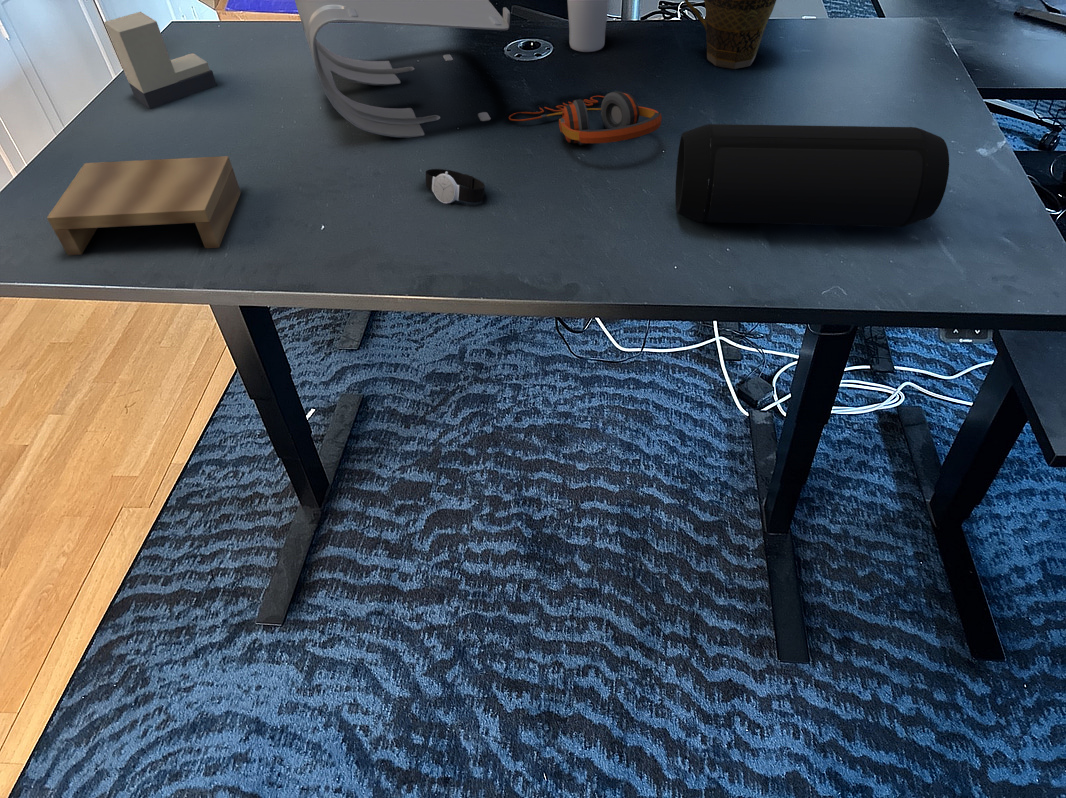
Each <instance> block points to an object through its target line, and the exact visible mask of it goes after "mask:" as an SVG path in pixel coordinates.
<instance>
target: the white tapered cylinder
mask: <svg viewBox="0 0 1066 798" xmlns="http://www.w3.org/2000/svg"><path fill="white" fill-rule="evenodd" d="M566 1H567V3H566V5H567V16H568V18H567V19H568V31H569V32H568V33H569V34H568V43H569V47H570V49H572V50H573V51H576V52H581V53H591V52H592V53H593V52H597V51H600V50H602V49H603V48H604V47H605V43H606V29H607V22H608V21H607V20H608V14H609V13H608V12H609V6H610V5H609V4H610V0H566Z"/></svg>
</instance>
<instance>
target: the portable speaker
mask: <svg viewBox="0 0 1066 798" xmlns="http://www.w3.org/2000/svg"><path fill="white" fill-rule="evenodd" d="M678 145H679V146H678V151H677V158H676V159H677V160H676V173H675V190H674V191H675V195H674V196H675V210H676V211H675V212H676V213H677V214H679V215H681V216H684V217H686V218H688V219H691V220H693V221H696V222H699V223H717V224H718V223H720V224H721V223H727V224H779V225H781V224H782V225H816V226H817V225H819V226H846V227H847V226H848V227H883V228H885V227H886V228H902V227H906V226H910V225H911V224H915V223H918V222H921V221H924V220H927V219H929V218H931V217H932V216H934V214H935V213H936V212H937V210H938V209H939V207H940V205H941V203H942V201H943V198H944V196H945V193H946V189H947V185H948V181H949V173H950V154H949V148H948V145H947V142H946V141H945V139H944V138H942V137H941V136H939V135H938V134H935V133H932V132H930V131H926V130H924V129H922V128H919V127H914V126H869V125H868V126H867V125H866V126H862V125H861V126H859V125H857V126H856V125H795V124H794V125H791V124H789V125H788V124H730V123H729V124H728V123H727V124H726V123H722V124H719V123H717V124H716V123H712V124H711V123H708V124H704V125H701V126H697V127H694V128H692V129H689V130H686V131H684V132H682V133H681V136H680V139H679V144H678Z"/></svg>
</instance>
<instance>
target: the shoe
mask: <svg viewBox="0 0 1066 798" xmlns="http://www.w3.org/2000/svg"><path fill="white" fill-rule="evenodd" d="M103 23H104V26H105V28H106V31H107V33H108V35H109V36H108V37H109V38H110V40H111V44H112V45H113V48H114V50H115V53H116V55H117V58H118V61H119V62H120V65H121V67H122V70H123V72H124V75H125V77H126V79H127V82H128V85H129V88H130V89H131V91H132V95H133V96H134V99H136V100H137V101H139V102H140V103H141V104H142V105H144V106H145V107H146V108H147V109H150V110H151V109H154V108H156V107H161V106H163V105H165V104H169V103H172V102H174V101H177V100H179V99H183V98H186V97H189V96H191V95H195V94H197V93H201V92H204V91H206V90H209V89H212V88H214V87H217V86H218V85H217V81H216V79H215V75H214V72H213V70H211V69H210V66H209V63H208V62H207V61H206V60H204V59H203V58H202V57H200V56H198V55H197V54H195V53H193V52H191V53H188V54H185V55H182V56H179V57H176V58H173V59H171V57H170V54H169V52H168V49H167V46H166V43H165V40H164V39H163V35H162V33H161V30H160V27H159V25H158V22H157V21H156V20H155V19H153V18H152V17H150V16H149V15H148V14H145V13H144V12H142V11H138V12H134V13H130V14H127V15H124V16H120V17H117V18H113V19H110V20H107V21H103Z"/></svg>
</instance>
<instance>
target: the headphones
mask: <svg viewBox="0 0 1066 798" xmlns="http://www.w3.org/2000/svg"><path fill="white" fill-rule="evenodd" d="M597 97H598V98H602V101H601V103H600V104H601V105H600V107H599V108H598V107H597V108H595V107H594V108H593V107H592V106H593V105H594V104H598V103H599V100H597V99H594V98H597ZM567 103H568V104H567ZM567 103H565V102H562V104H558V105H555V108H556V109H553V108H549V107H547V106H543V108H544V109H546V110H548V111H551V112H552V113H549V114H543V113H545V110H544V109H543V108H542V107H539V110H540V111H534V112H533V111H517V112H514V113H512V114H510V115H509V116H508V120H509V121H510V122H511V121H512V122H529V121H534V120H538V119H539V120H540V119H541V120H542V119H546V118H548V117H553V116H560V115H561V118H559V119H558V127H559V132H560V133H562V134H563V135H564V138H565V140H566V141H567V142H568V143H569V144H578V146H580V147H581V146H587V145H588V144H609V143H616V142H622V141H627V140H632V139H636V138H639V137H642V136H645V135H649V134H651V133H653V132H655V131H657V130H658V129H659V128H660V127H661V125H662V119H663V118H662V112H659V111H657V110H656V109H653V108H650V107H646V106H639V105H638V102H637V100H636V98H635V97H634V96H633V95H631V94H630V93H628V92H622V91H620V90H614V91H611V92H609V93H607V94H606V95H594V96H591V97H590V98H589V99H586V98H585V99H581V98H579V99H575V100H572V102H571V101H567ZM587 107H589V108H587ZM591 107H592V108H591ZM588 111H600V116H601V120H602V123H603V125H604V127H605V129H603V128H602V129H590V119H589V113H588ZM516 114H525V115H538V114H539V115H540V114H541V115H540V116H536V117H530V118H523V119H521V118H520V119H519V118H518V119H515V118H511V117H513V116H514V115H516ZM640 117H643V118H646V119H645V120H643V121H640V122H639V120H640ZM647 118H648V119H647Z"/></svg>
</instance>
